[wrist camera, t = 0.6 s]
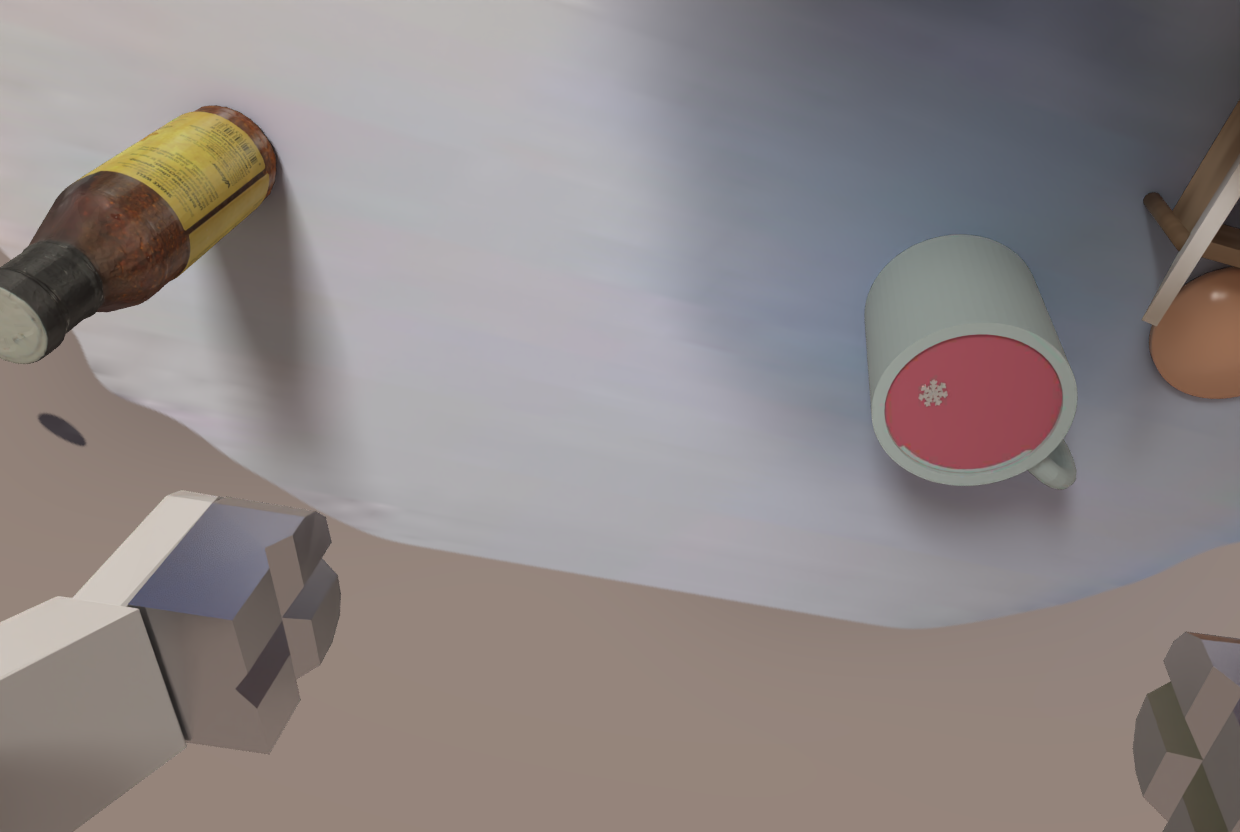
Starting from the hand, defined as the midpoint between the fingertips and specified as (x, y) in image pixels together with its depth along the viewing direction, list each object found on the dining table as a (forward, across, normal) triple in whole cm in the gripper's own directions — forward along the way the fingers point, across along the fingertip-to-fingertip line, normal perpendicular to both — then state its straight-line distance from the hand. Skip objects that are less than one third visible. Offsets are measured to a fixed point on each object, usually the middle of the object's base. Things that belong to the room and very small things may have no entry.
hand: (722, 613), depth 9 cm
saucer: (+44, -25, +18) cm, 53 cm away
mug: (+44, -12, +20) cm, 50 cm away
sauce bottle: (+44, +31, +13) cm, 55 cm away
